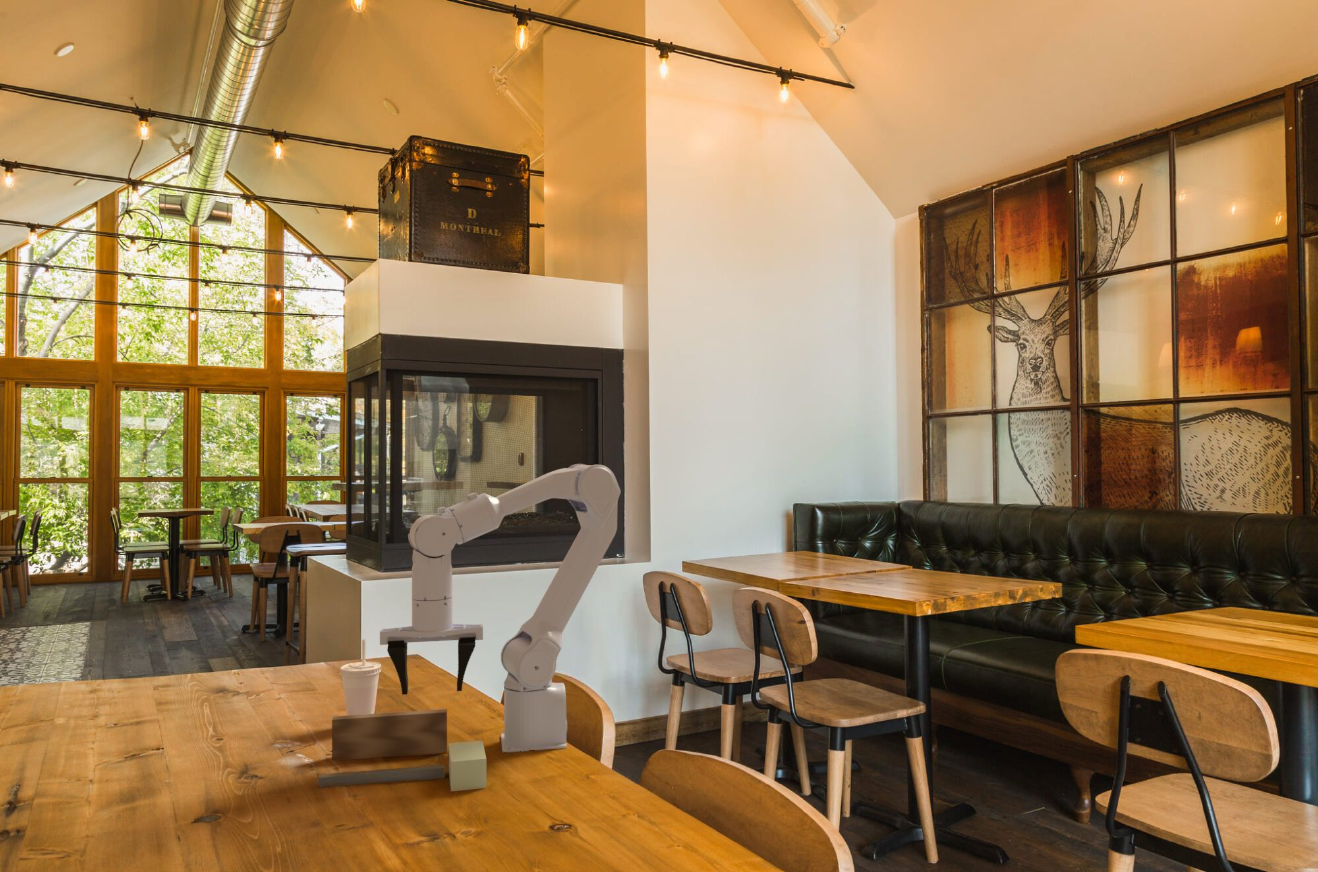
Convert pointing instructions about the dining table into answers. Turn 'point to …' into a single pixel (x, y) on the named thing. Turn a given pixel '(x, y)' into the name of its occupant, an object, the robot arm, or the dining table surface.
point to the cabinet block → (467, 765)
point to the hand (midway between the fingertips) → (432, 691)
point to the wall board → (389, 734)
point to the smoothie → (360, 685)
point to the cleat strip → (382, 776)
